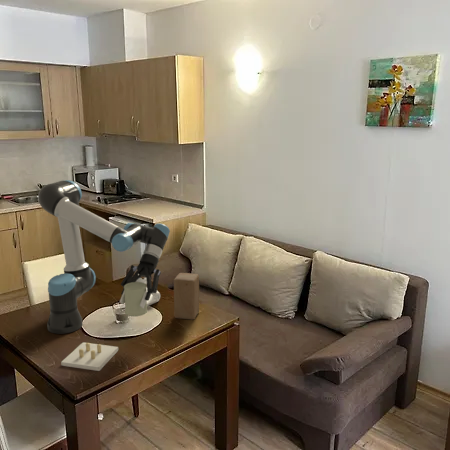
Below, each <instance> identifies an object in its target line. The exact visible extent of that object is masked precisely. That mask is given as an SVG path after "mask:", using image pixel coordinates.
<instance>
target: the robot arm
mask: <svg viewBox="0 0 450 450" xmlns="http://www.w3.org/2000/svg"><path fill="white" fill-rule="evenodd" d="M82 197H83V194H82V189H81V187H80V185H78V184H77V183H76V182H75V181H72V180H68V179H67V180H64V179H63V180H59V181H55V182H53V183H48V184H46V185H43V187H41V188H40V190H39V191H38V195H37V200H38V201H37V202H38V203H39V206H40V207H41V208H42V209H43V210H44V211H45V212H47V213H49V214H50V215H52V216H54V217H56V218H57V222H58V226H59V232H60V237H61V244H62V248H63V249H62V250H63V255H64V261H65V266H64V267H63V273H60V274H56V275H54V276H52V277H51V278H50V279H49V281H48V283H47V284H48V285H47V292H48V299H49V300H48V301H49V311H50V313H49V317H48V321H47V324H46V325H47V326H46V327H47V331H48V332H50V333H52V334H55V335H59V334H60V335H62V334H63V335H65V334H70V333H73V332H76V331H78V330H79V329H81V328H82V327H83V326H84V325H83V323H84V322H83V318H82V316H81V314H80V311H79V309H78V298H80V297H81V296H83V295H84V294H85V293H87V292H89V291H90V290H91V289H92V288H93V287H94V286H95V285H96V279H97V277H96V273H95V271H94V270H93V269H92V268H91V267H90V264H89V263H88V262H86V261H85V254H84V248H83V241H82V236H81V231H80V228H82V229H84V230H86V231H88V232H89V233H91V234H93V235H96V236H97V237H99V238H101V239H103V240H105V241H107V242H109V243H111V245H112V247H113V248H114V249H113V250H116V251H117V252H120V253H121V252H125V251H128V250H130V249H131V248H132V247H134V246H135V245H137V244H138V243H143V244H146V245H145V247H144V249H143V252H142V253H143V254H142V255H141V257H140V259H139V263H138V265H137V266H136V265H133V264H132V265H130V268H129V270H128V272H127V273H126V275H125V277H124V278H123V279H122V281H121V282H120V285H121V286H122V287H123V288H122V290H121V292H120V293H121V297H120V299H119V302H120V304H121V305H124V306H125V292H124V286H125V285H126V284H128V283H132V282H136V281H137V280H138V279H139V278H146V279H147V284H146V287H147V291H148V292H147V291H145V293H144V295H143V298H142V300H141V303H140V305H139V306H140V307H141V308H144V306H145V304H146V301H148V300H149V298H150V296H151V294H152V293H156V292H157V291H158V285H159V281H160V280H159V279H160V276H161V274H162V271H160V269H158V268H157V267H158V264H159V262H160V261H159V260H160V259H161V256H162V254H163V252H164V249H165V246H166V244H167V241H168V240H169V236H170V232H171V231H170V228H169V227H168V226H167V225H166V224H163V223H155V224H154V226H153V227H152V226H151V227H150V226H147V225H143V224H138V223H135V222H134V223H133V222H127V223H126V224H125V225H124V227H123V228H122V227H120V226H118V225H116V224H114V223H112V222H110V221H108V220H106V219H105V218H103V217H101V216H99V215H97V214H95V213H93V212H91V211H89V210H88V209H85V208H84V207H82V206H80V201H81V199H82ZM156 268H157V269H156ZM138 274H139V275H138ZM152 275H153V276H152ZM132 276H133V277H132ZM152 277H153V278H152ZM152 279H153V280H152Z"/></svg>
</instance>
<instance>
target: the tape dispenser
mask: <svg viewBox="0 0 450 450" xmlns="http://www.w3.org/2000/svg"><path fill="white" fill-rule="evenodd" d="M138 275H139V274H138ZM133 276H134V275H133ZM133 276H132V277H133ZM136 282H142V283H145V284H146V285H147V279H146V277H141V278H139V279H138V280H137V281H136ZM146 291H147V286H146ZM147 292H148V291H147ZM160 299H161V293H160V292H159V291H158V290H157V292H156V293H152V294H151V296H150V298H149V300H148V301H147V307H149V306H151V305H153V304H156V303H157V302H159V301H160Z"/></svg>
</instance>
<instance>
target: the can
mask: <svg viewBox="0 0 450 450" xmlns="http://www.w3.org/2000/svg"><path fill="white" fill-rule="evenodd" d="M146 287H147V284H145V283H142V282H132V283H128V284H126V285H125V286H124V287H123V288H124V292H125V303H124V307H125V308H124V309H125V310H124V314H125V315H126V316H129V317H141V316H144V315H146V314H147V313H148V306H147V301H146V304H145V306H144V308H141V307H140V306H139V305H140V303H141V300H142V298H143V295H144V293H145V291H146Z"/></svg>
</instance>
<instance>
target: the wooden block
mask: <svg viewBox="0 0 450 450" xmlns="http://www.w3.org/2000/svg"><path fill="white" fill-rule="evenodd" d="M173 296H174V297H173V301H174V302H173V303H174V305H173V308H174V312H173V313H174V318H175V319H181V320H195V319H196V317H197V315H198V313H199V312H200V275H199V274H198V273H188V272H179V273H178V274H177V275H176V276H175V278H174V279H173Z"/></svg>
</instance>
